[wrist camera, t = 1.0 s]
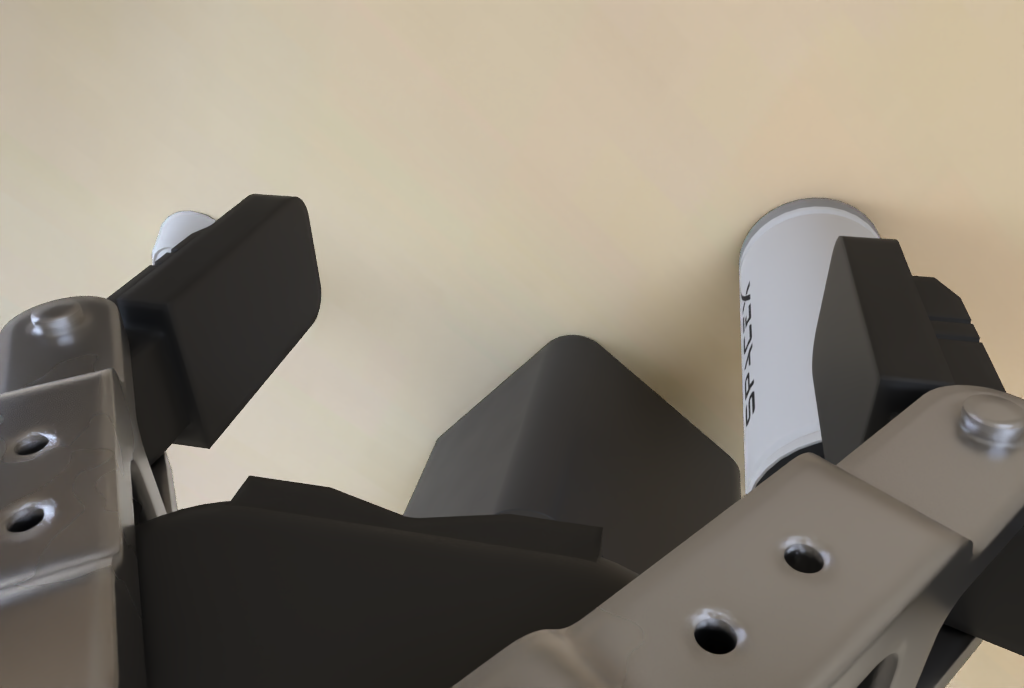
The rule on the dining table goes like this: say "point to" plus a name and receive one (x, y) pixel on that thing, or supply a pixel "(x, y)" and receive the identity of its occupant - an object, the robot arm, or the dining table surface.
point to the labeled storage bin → (581, 457)
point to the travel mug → (786, 327)
